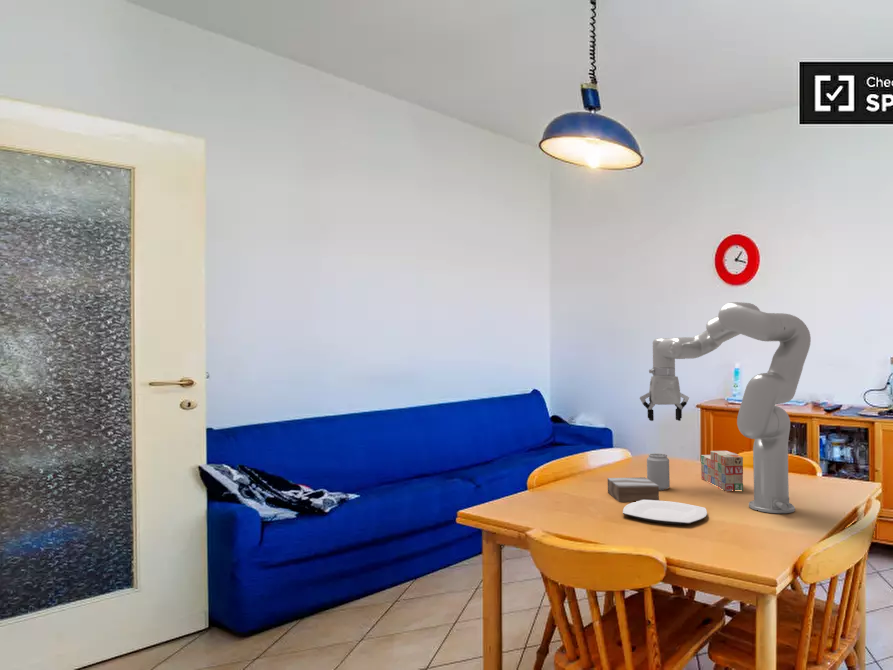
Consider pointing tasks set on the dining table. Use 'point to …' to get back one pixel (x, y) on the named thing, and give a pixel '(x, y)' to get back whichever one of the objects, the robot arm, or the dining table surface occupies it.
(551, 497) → the dining table surface
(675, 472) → the dining table surface
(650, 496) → the riser
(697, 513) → the plate
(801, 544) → the dining table surface
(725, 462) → the stack of blocks
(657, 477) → the can
